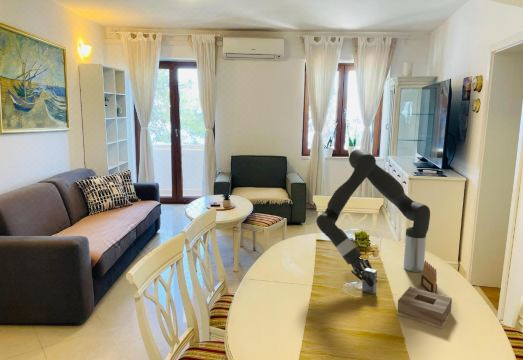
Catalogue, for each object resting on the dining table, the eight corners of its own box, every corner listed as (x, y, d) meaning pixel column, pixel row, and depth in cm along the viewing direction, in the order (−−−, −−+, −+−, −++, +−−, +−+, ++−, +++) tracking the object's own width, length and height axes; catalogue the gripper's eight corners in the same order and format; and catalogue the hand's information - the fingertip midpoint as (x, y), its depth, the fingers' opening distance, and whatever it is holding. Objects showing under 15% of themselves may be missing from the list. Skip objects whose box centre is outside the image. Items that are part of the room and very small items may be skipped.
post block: (408, 300, 158) (409, 286, 157) (450, 312, 149) (452, 298, 148) (397, 314, 148) (398, 300, 147) (441, 328, 138) (443, 313, 137)
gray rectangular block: (364, 288, 169) (365, 267, 167) (375, 291, 166) (377, 270, 164) (362, 291, 166) (363, 269, 164) (373, 294, 163) (374, 272, 161)
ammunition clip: (436, 296, 162) (438, 269, 159) (432, 296, 162) (434, 269, 159) (424, 284, 172) (426, 259, 170) (420, 284, 172) (422, 259, 170)
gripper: (347, 251, 161) (373, 286, 156) (361, 242, 172) (386, 274, 167) (335, 260, 166) (361, 294, 161) (349, 250, 176) (374, 282, 171)
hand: (373, 284), depth 164 cm, fingers closed on gray rectangular block, 3 cm apart
